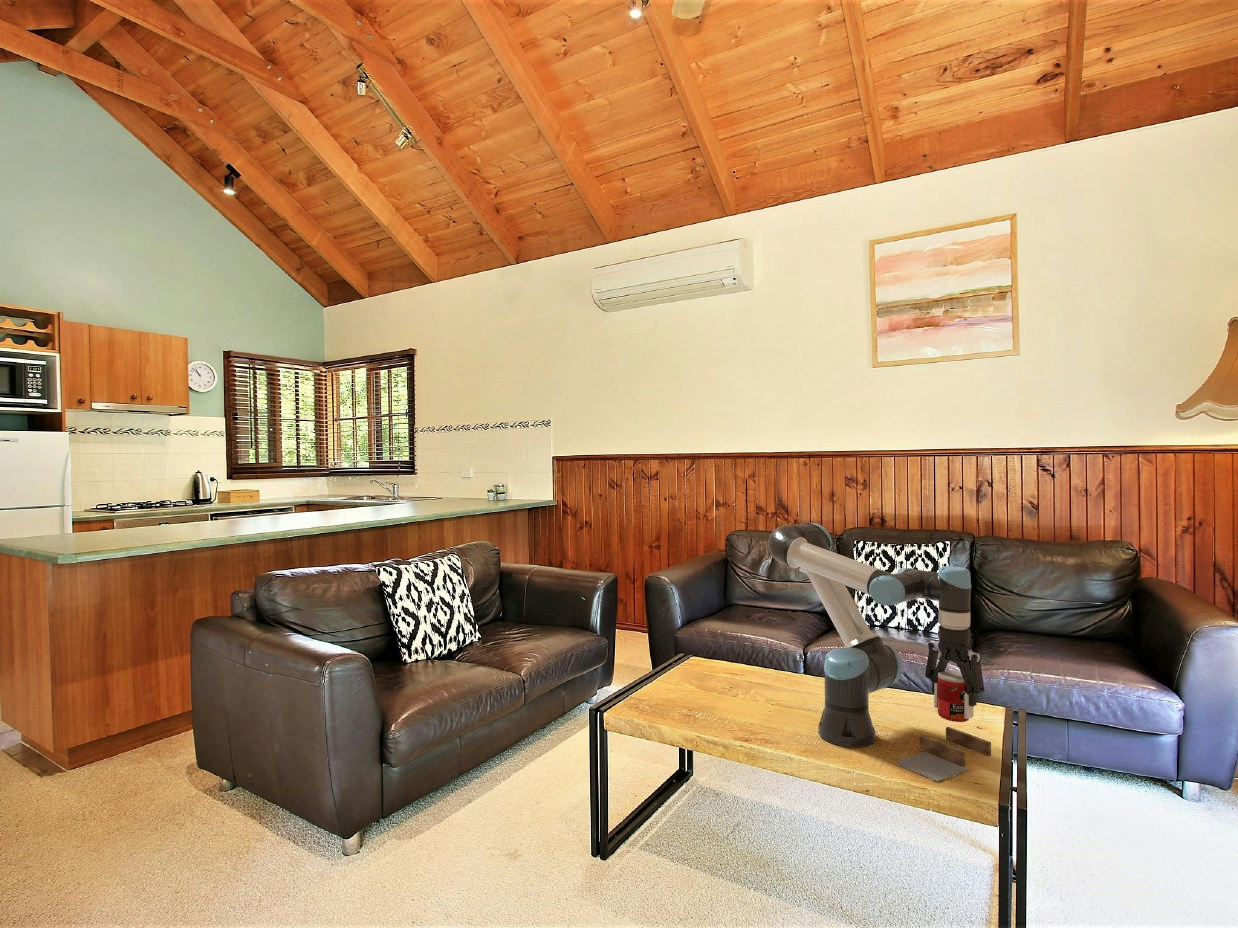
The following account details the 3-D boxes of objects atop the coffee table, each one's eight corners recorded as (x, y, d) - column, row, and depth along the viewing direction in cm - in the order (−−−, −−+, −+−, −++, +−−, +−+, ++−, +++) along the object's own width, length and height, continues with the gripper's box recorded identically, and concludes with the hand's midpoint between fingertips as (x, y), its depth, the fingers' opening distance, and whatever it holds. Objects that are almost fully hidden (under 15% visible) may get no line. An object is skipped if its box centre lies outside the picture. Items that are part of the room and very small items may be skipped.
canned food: (952, 723, 174) (953, 681, 173) (930, 712, 181) (930, 671, 181) (977, 720, 176) (977, 678, 175) (954, 709, 183) (954, 669, 183)
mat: (894, 763, 172) (894, 761, 172) (924, 752, 178) (924, 751, 178) (937, 782, 162) (937, 780, 162) (967, 770, 168) (967, 768, 168)
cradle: (919, 749, 180) (919, 736, 180) (948, 739, 186) (948, 726, 186) (962, 766, 170) (962, 752, 170) (991, 755, 176) (991, 741, 176)
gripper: (1001, 633, 171) (1000, 722, 171) (927, 616, 189) (927, 696, 189) (984, 637, 167) (983, 728, 168) (910, 619, 185) (909, 701, 185)
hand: (953, 711), depth 178 cm, fingers closed on canned food, 8 cm apart
